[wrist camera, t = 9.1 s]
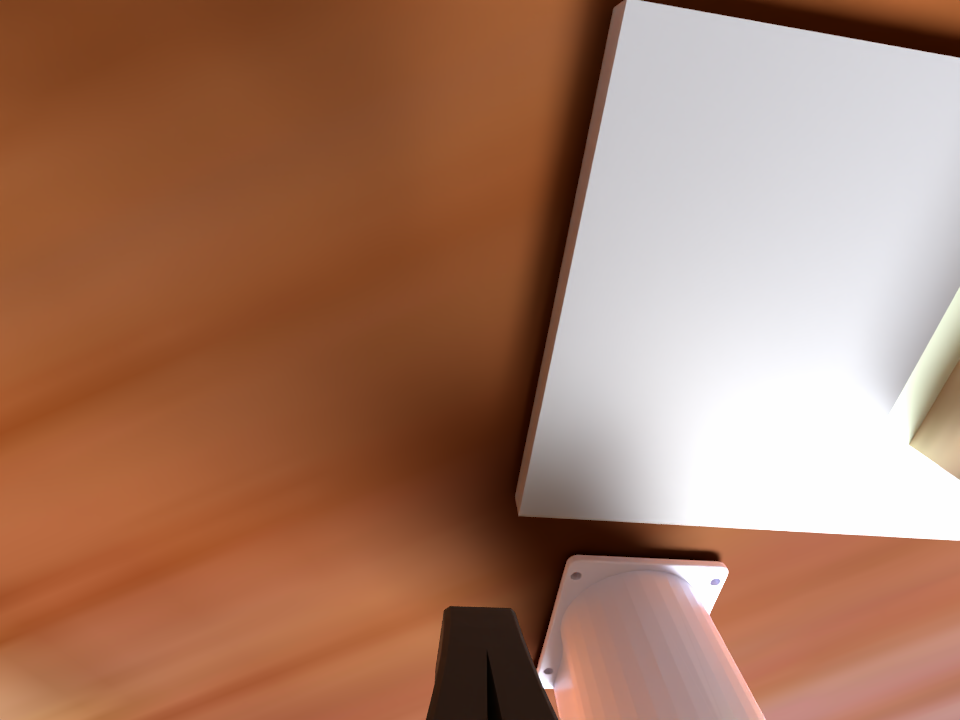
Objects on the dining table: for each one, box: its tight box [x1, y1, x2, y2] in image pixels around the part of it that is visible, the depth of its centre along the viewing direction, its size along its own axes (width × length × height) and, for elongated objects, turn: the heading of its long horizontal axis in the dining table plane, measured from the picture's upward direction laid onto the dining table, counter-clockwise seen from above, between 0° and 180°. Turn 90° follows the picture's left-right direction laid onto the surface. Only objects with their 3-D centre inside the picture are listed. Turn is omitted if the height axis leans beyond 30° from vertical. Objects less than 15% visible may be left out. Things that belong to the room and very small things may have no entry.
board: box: [515, 0, 960, 540], centre depth 19 cm, size 18×28×1 cm, turn 83°
